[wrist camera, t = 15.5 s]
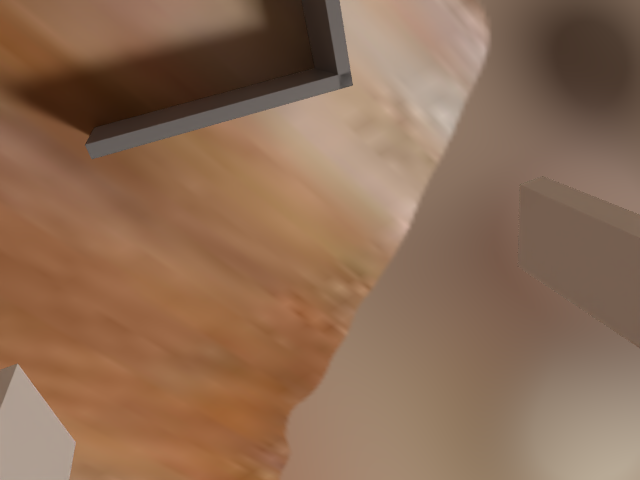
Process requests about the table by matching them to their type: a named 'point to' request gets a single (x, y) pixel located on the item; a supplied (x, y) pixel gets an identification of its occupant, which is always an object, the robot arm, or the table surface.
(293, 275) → the table surface
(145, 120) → the bay
